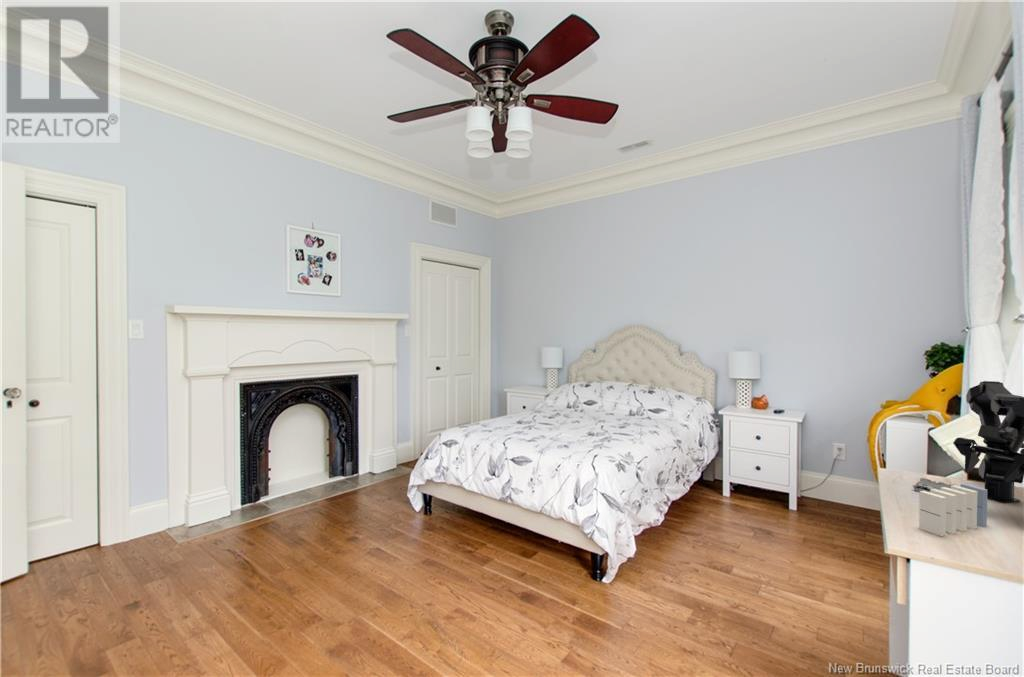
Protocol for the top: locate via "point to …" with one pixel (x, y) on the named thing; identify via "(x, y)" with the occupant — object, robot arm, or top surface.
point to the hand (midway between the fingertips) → (985, 476)
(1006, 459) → the robot arm
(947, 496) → the domino
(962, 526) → the domino
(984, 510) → the domino
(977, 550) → the top surface
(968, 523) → the domino
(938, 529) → the domino
